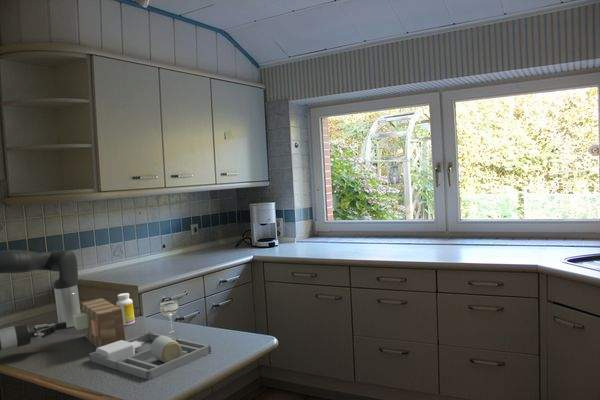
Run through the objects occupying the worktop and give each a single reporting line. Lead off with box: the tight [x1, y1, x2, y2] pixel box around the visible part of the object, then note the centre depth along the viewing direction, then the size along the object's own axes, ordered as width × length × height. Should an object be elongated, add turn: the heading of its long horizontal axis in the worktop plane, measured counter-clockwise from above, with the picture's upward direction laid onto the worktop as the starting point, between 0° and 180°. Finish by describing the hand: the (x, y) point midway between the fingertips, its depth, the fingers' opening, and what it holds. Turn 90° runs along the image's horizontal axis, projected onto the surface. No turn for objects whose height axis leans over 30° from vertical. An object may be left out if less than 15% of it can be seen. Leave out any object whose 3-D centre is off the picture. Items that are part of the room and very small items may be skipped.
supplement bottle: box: [115, 292, 136, 327], centre depth 215 cm, size 7×7×13 cm
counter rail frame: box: [88, 332, 212, 381], centre depth 170 cm, size 35×24×2 cm
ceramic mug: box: [150, 335, 187, 363], centre depth 165 cm, size 11×8×8 cm
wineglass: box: [159, 300, 179, 333], centre depth 195 cm, size 7×7×12 cm
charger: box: [95, 340, 145, 361], centre depth 174 cm, size 5×9×15 cm
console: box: [80, 297, 126, 348], centre depth 192 cm, size 28×8×14 cm, turn 35°
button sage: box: [73, 312, 89, 331], centre depth 196 cm, size 5×5×5 cm
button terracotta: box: [91, 320, 99, 337], centre depth 184 cm, size 5×5×5 cm
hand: (66, 324), depth 193 cm, fingers closed
